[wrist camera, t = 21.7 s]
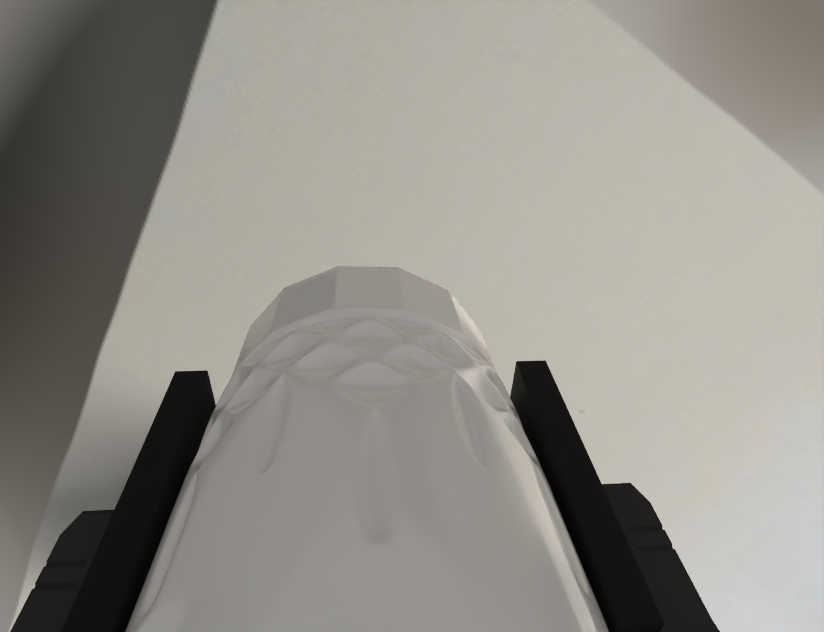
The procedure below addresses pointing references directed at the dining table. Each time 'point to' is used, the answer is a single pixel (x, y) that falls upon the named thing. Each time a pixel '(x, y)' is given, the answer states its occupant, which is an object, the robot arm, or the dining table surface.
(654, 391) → the dining table surface
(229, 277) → the dining table surface
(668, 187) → the dining table surface
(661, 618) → the robot arm
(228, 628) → the white cup
